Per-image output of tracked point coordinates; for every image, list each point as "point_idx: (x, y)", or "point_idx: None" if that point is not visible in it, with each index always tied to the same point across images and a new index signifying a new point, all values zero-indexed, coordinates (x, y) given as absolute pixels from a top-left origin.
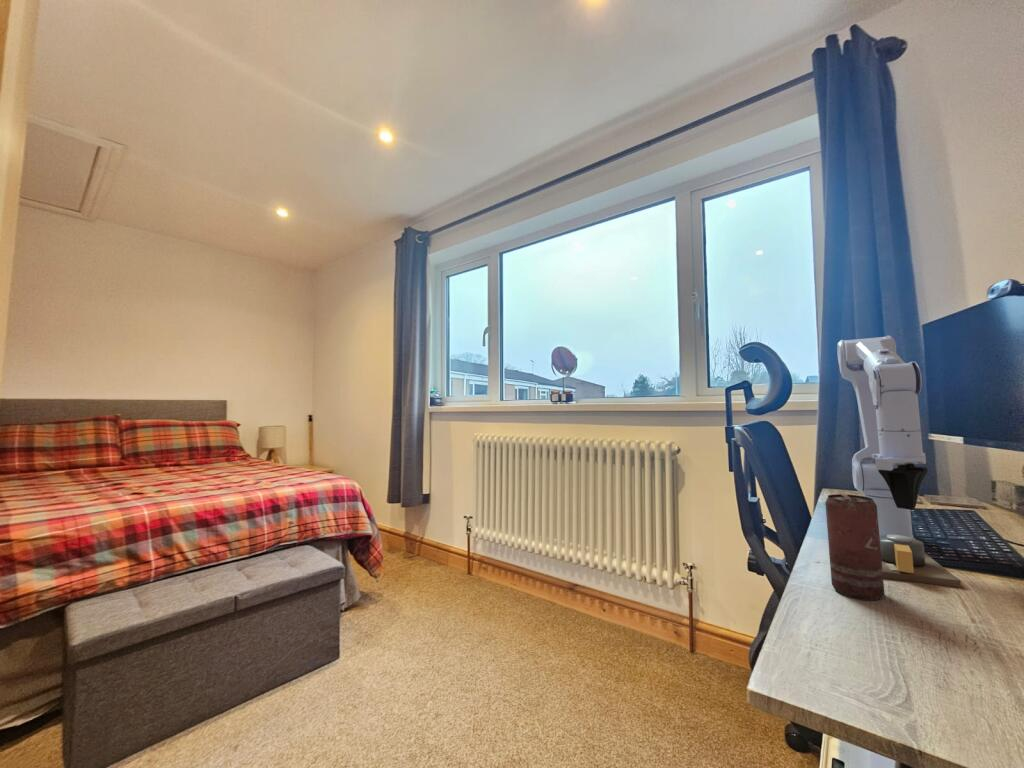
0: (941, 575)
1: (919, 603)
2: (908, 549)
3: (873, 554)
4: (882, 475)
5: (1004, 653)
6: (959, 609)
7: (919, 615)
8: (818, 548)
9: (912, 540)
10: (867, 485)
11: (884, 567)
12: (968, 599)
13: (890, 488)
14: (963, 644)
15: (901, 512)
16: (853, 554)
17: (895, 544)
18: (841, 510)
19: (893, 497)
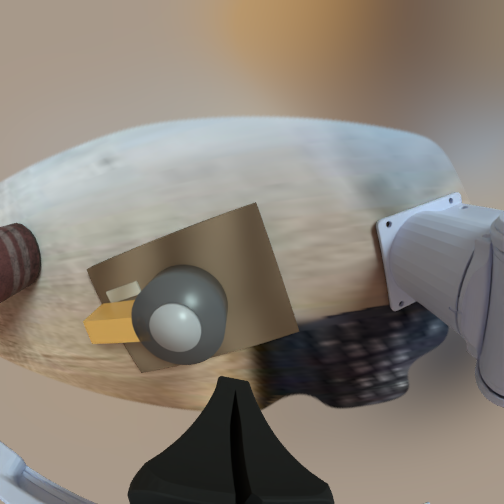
0: (145, 355)
1: (44, 317)
2: (107, 340)
3: None
4: (154, 457)
5: (13, 359)
6: (62, 351)
7: (19, 314)
8: (221, 128)
9: (196, 348)
10: (496, 260)
11: (117, 280)
12: (102, 365)
13: (195, 421)
14: (3, 337)
15: (434, 312)
16: None
17: (125, 320)
18: None
19: (212, 396)
